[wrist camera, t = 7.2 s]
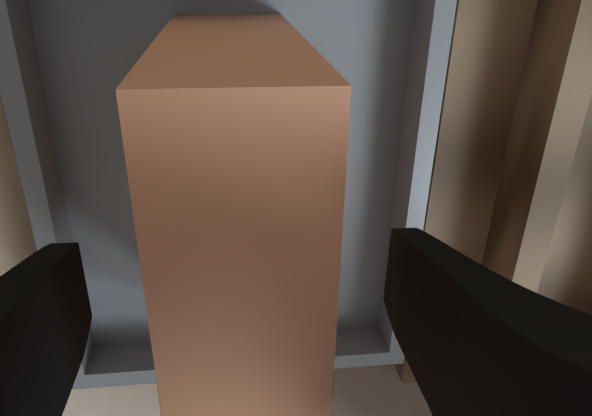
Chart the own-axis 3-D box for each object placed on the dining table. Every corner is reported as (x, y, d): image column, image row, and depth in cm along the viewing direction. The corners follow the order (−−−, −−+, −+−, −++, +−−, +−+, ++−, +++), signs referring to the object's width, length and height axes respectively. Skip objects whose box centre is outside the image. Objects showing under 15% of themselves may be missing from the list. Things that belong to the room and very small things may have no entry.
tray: (388, 329, 21) (403, 363, 19) (82, 350, 20) (69, 389, 18) (436, -54, 15) (465, -55, 13) (-3, -66, 13) (-38, -69, 12)
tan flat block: (280, 299, 19) (323, 547, 11) (199, 305, 19) (182, 565, 11) (280, 14, 15) (351, 85, 7) (174, 13, 14) (115, 89, 6)
